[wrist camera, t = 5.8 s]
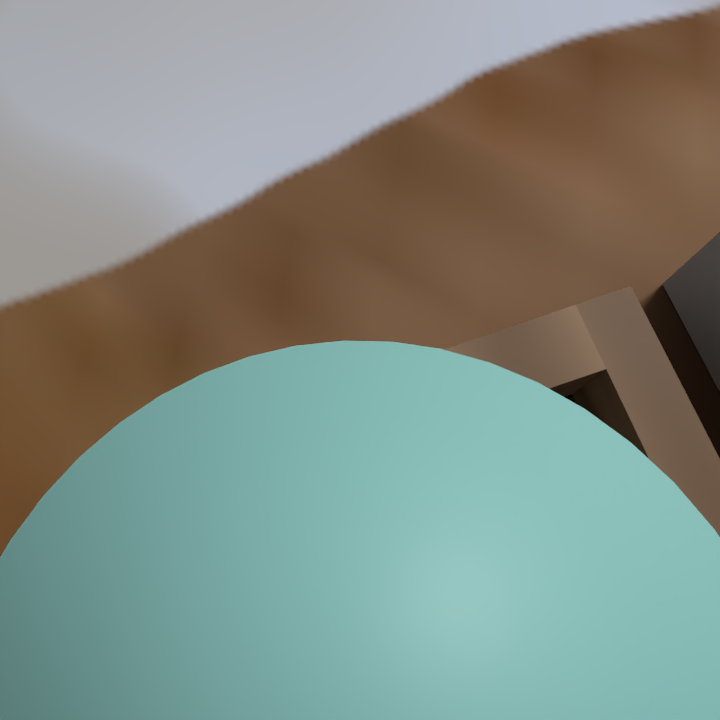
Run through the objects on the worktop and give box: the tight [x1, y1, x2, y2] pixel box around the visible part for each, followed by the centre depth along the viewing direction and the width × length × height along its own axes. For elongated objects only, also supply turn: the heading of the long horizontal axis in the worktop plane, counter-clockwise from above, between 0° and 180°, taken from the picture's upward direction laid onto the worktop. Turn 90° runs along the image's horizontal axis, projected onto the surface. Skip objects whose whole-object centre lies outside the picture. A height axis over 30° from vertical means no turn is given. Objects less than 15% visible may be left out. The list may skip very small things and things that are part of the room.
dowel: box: [0, 341, 720, 720], centre depth 8 cm, size 4×4×12 cm
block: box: [444, 286, 720, 537], centre depth 14 cm, size 6×9×3 cm, turn 18°
